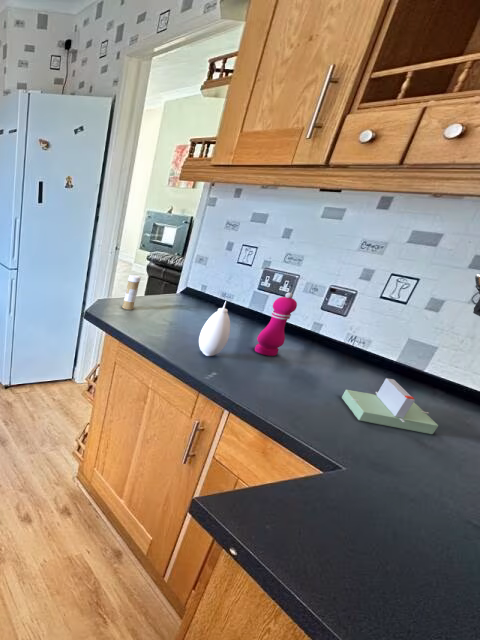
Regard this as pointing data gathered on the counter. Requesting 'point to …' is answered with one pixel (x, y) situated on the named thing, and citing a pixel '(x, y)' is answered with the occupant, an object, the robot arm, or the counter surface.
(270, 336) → the pepper mill
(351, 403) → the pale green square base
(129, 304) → the sprinkles bottle
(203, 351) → the white air blower bulb
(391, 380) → the white rectangular block
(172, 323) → the counter surface
